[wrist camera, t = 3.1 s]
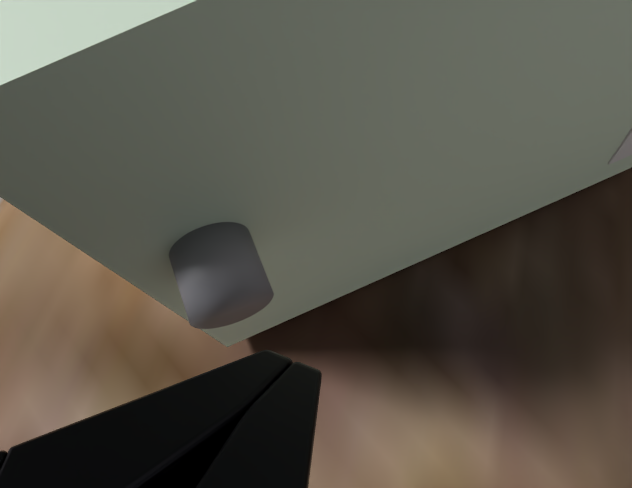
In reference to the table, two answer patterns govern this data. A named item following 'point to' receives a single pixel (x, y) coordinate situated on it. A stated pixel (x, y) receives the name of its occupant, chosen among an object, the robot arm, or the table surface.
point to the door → (301, 135)
